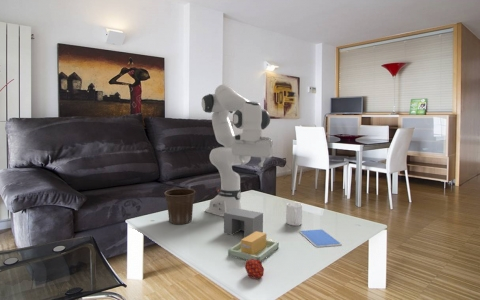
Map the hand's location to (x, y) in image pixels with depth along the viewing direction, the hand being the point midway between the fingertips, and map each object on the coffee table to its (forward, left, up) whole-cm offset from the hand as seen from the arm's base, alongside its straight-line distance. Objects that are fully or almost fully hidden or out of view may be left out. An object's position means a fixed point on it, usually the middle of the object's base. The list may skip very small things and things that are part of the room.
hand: (251, 166), depth 151 cm
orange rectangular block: (+11, -17, -32) cm, 38 cm away
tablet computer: (+29, +12, -34) cm, 47 cm away
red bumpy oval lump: (+21, -35, -33) cm, 53 cm away
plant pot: (-42, -3, -33) cm, 54 cm away
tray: (+11, -17, -33) cm, 39 cm away
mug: (+12, +25, -33) cm, 43 cm away
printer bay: (-4, -1, -33) cm, 33 cm away
